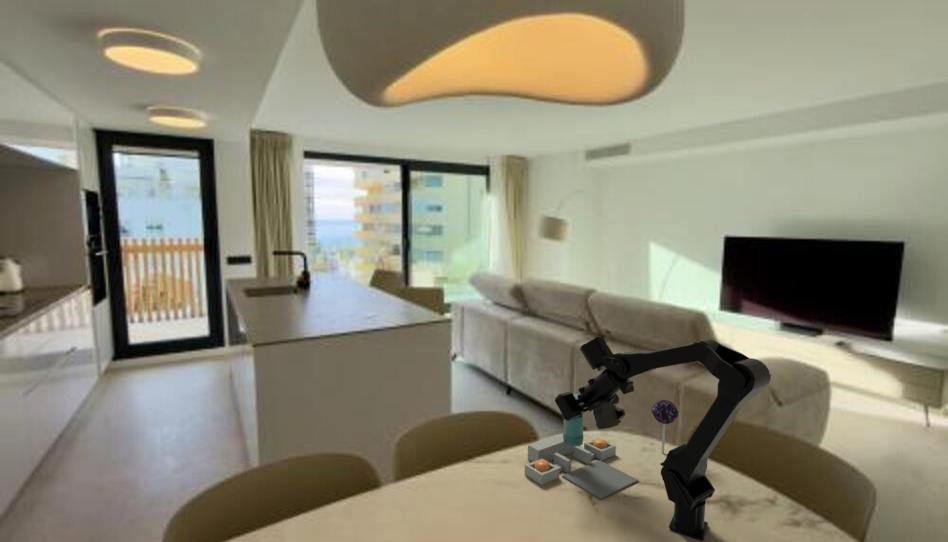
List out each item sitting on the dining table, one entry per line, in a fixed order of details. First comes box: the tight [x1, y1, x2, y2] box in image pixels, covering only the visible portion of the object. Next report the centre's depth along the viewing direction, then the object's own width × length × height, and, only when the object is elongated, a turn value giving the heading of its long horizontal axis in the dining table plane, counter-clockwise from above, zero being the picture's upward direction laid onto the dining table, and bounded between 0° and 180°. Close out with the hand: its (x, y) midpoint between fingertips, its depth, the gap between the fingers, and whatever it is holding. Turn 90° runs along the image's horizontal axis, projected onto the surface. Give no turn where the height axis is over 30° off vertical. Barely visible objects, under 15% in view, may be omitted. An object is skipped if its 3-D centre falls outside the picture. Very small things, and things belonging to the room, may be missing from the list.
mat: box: [561, 459, 639, 500], centre depth 115 cm, size 12×14×1 cm
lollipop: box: [651, 399, 679, 454], centre depth 129 cm, size 7×7×15 cm
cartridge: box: [562, 393, 585, 447], centre depth 121 cm, size 5×5×12 cm
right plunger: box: [593, 438, 608, 449], centre depth 129 cm, size 4×4×3 cm
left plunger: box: [535, 460, 550, 473], centre depth 116 cm, size 4×4×3 cm
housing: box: [524, 432, 617, 486], centre depth 124 cm, size 12×28×4 cm, turn 126°
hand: (569, 415), depth 122 cm, fingers closed on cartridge, 5 cm apart
